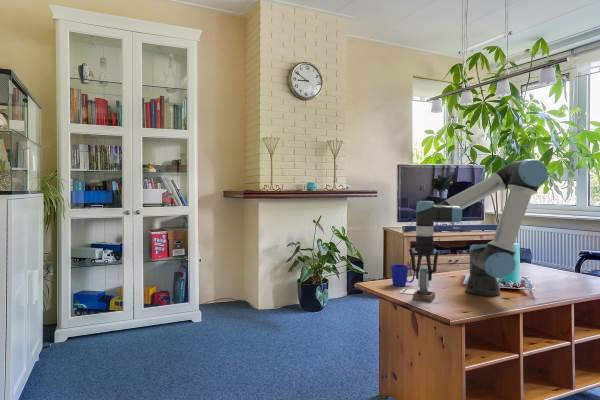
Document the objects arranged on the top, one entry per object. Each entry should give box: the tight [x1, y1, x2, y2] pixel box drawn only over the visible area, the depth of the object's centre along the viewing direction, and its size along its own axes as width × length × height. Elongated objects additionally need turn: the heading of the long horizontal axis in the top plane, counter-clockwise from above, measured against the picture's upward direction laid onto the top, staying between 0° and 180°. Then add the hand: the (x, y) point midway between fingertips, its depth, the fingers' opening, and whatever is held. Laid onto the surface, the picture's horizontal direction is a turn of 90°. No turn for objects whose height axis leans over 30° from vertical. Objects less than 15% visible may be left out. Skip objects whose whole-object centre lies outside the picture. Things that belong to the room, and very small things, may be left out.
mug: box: [390, 264, 416, 287], centre depth 204 cm, size 8×12×10 cm
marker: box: [419, 267, 429, 295], centre depth 179 cm, size 3×3×12 cm
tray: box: [412, 289, 436, 303], centre depth 179 cm, size 8×8×3 cm
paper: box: [398, 288, 418, 296], centre depth 189 cm, size 14×9×1 cm, turn 61°
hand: (423, 286), depth 179 cm, fingers closed on marker, 3 cm apart
